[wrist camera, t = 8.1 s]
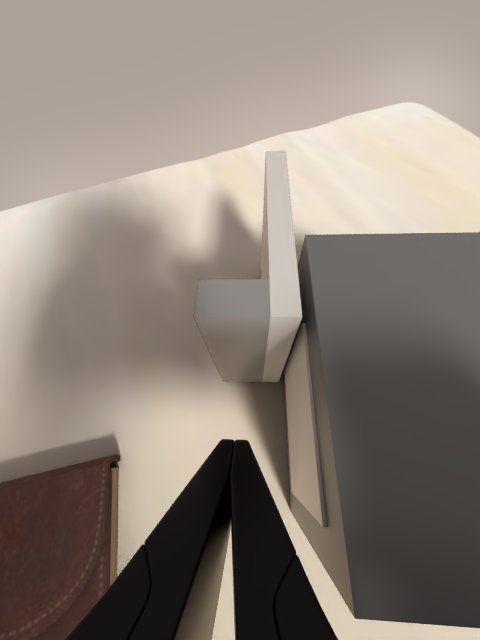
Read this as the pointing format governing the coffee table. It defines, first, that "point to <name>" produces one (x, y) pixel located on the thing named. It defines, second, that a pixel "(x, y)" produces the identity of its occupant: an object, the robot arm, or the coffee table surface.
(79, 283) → the coffee table surface
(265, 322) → the door
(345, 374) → the block
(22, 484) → the notebook
